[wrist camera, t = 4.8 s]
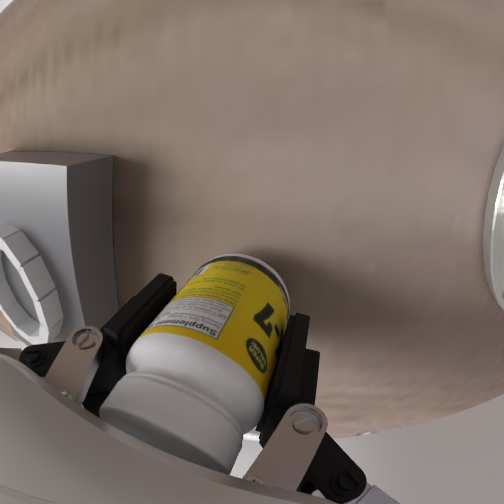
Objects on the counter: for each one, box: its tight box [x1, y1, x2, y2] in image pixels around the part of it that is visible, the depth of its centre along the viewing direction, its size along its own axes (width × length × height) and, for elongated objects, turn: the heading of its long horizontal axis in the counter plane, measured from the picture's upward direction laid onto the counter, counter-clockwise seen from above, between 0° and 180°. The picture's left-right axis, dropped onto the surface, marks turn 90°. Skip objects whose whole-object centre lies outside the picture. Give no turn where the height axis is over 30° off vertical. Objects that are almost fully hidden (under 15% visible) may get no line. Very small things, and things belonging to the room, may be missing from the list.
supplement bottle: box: [99, 254, 290, 475], centre depth 9 cm, size 5×5×8 cm
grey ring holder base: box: [0, 151, 119, 346], centre depth 15 cm, size 12×16×5 cm
